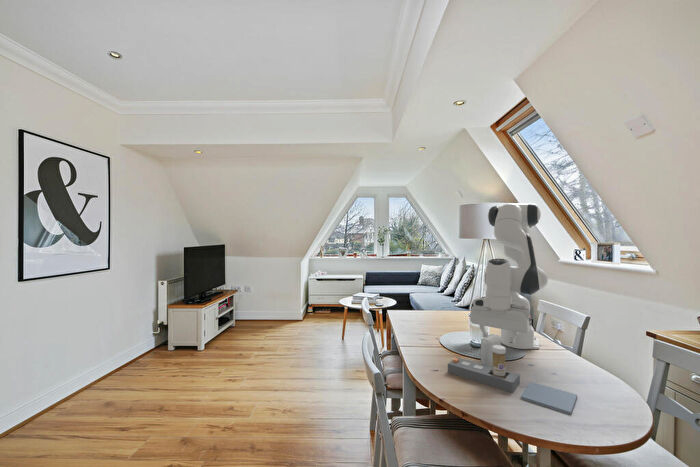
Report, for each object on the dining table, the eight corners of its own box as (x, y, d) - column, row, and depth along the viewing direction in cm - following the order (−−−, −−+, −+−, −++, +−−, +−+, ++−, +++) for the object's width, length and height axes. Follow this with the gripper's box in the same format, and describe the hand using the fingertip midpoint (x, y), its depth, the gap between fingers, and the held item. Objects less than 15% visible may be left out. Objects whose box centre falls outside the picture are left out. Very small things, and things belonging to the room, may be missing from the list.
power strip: (457, 365, 132) (457, 355, 132) (519, 383, 116) (519, 371, 116) (447, 372, 125) (447, 361, 125) (512, 392, 109) (512, 380, 109)
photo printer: (493, 359, 138) (493, 331, 138) (502, 362, 135) (502, 333, 135) (479, 364, 133) (479, 335, 133) (488, 368, 129) (488, 338, 129)
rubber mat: (530, 383, 116) (530, 381, 116) (577, 397, 106) (577, 394, 106) (520, 398, 105) (520, 396, 105) (570, 414, 96) (570, 412, 96)
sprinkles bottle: (497, 386, 114) (497, 349, 114) (489, 380, 118) (489, 344, 118) (508, 385, 115) (508, 348, 115) (500, 379, 119) (500, 344, 119)
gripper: (532, 305, 112) (532, 344, 112) (474, 297, 126) (474, 332, 125) (527, 308, 107) (527, 348, 107) (468, 300, 121) (468, 336, 121)
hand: (498, 339), depth 116 cm, fingers open, 8 cm apart
